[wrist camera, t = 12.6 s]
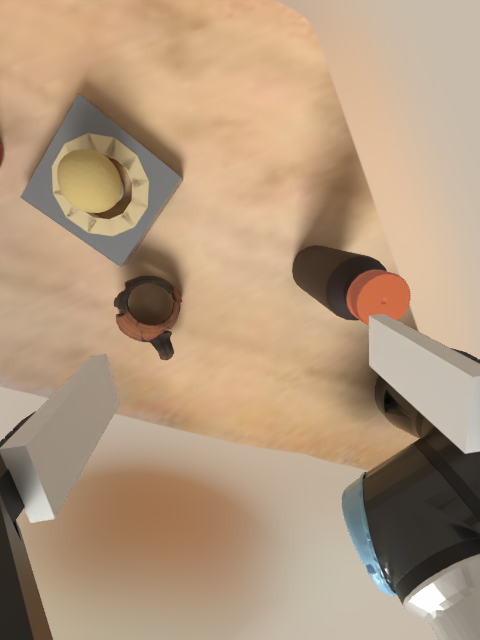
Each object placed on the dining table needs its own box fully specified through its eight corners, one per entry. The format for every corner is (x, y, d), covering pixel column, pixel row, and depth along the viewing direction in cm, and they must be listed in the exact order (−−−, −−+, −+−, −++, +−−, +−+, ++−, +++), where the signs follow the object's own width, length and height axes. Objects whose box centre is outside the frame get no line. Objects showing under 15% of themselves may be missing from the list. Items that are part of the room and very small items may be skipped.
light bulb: (137, 214, 42) (114, 212, 32) (89, 214, 41) (50, 211, 32) (133, 162, 40) (107, 143, 30) (82, 161, 39) (40, 141, 30)
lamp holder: (183, 179, 41) (181, 177, 39) (125, 264, 44) (120, 267, 41) (87, 101, 38) (78, 93, 35) (31, 198, 40) (19, 197, 38)
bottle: (345, 271, 46) (435, 305, 27) (308, 300, 47) (372, 352, 28) (319, 235, 44) (397, 244, 25) (282, 266, 45) (330, 297, 26)
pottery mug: (102, 302, 46) (98, 288, 38) (159, 275, 49) (166, 258, 42) (143, 372, 46) (148, 373, 38) (197, 341, 50) (211, 335, 42)
